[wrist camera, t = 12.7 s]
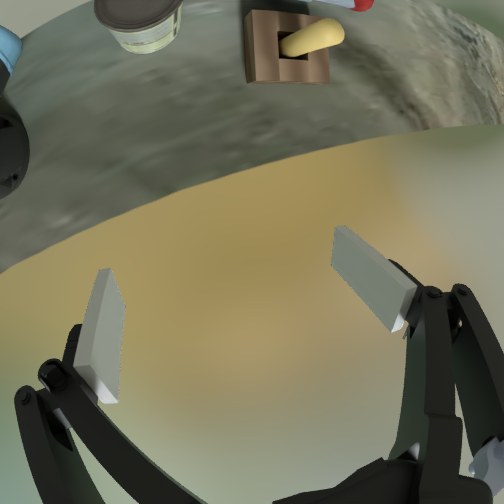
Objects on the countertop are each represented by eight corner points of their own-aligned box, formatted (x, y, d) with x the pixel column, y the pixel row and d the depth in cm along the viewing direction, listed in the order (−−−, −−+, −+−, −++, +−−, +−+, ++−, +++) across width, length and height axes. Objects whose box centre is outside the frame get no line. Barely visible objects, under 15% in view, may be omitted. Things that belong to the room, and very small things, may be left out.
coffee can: (105, 22, 26) (81, -8, 14) (164, -9, 26) (164, -50, 14) (132, 66, 31) (114, 48, 20) (192, 34, 31) (201, 3, 19)
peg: (269, 41, 35) (316, 15, 21) (290, 42, 35) (343, 21, 22) (271, 60, 36) (318, 42, 23) (291, 61, 37) (345, 46, 24)
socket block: (247, 83, 38) (256, 80, 34) (243, 18, 32) (251, 9, 27) (314, 84, 40) (329, 83, 36) (311, 24, 34) (325, 18, 30)
